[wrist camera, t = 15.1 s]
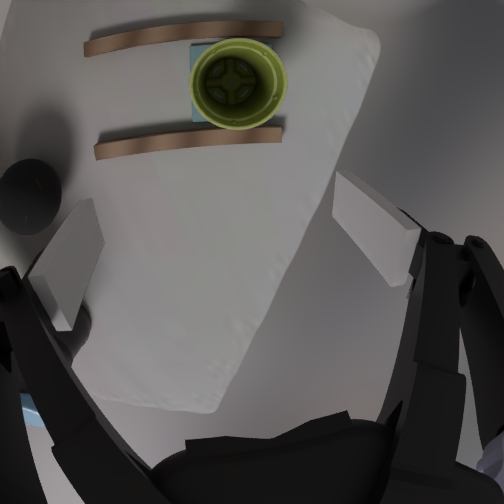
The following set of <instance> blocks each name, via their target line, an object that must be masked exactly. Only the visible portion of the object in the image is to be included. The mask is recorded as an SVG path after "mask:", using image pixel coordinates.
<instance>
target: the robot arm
mask: <svg viewBox="0 0 504 504" xmlns="http://www.w3.org/2000/svg"><path fill="white" fill-rule="evenodd" d="M332 216H333V217H334V218H335V220H336V221H337V222H338V223H339V224H340V225H341V226H342V228H343V229H344V230H345V231H346V232H347V233H348V235H349V236H350V237H351V238H352V239H353V240H354V242H355V243H356V244H357V245H358V246H359V248H360V249H361V250H362V251H363V253H364V254H365V255H366V256H367V257H368V259H369V260H370V261H371V262H372V264H373V265H374V266H375V267H376V269H377V270H378V271H379V272H380V274H381V275H382V276H383V277H384V279H385V280H386V281H387V283H388V284H389V285H390V286H391V287H394V286H399V285H403V284H405V282H406V279H407V276H408V273H410V274H411V275H412V276H413V281H412V284H411V287H410V289H409V292H408V295H407V299H409V301H408V307H407V312H406V317H405V322H404V327H403V332H402V337H401V341H400V346H399V349H398V354H397V358H396V362H395V365H394V369H393V373H392V377H391V380H390V384H389V387H388V390H387V394H386V397H385V400H384V403H383V407H382V410H381V412H380V414H379V416H378V418H377V420H376V422H374V421H369V420H363V419H350V417H349V414H348V412H347V410H346V411H343V412H340V413H336V414H333V415H329V416H325V417H322V418H318V419H314V420H310V421H308V422H306V423H304V424H302V425H300V426H298V427H296V428H294V429H292V430H290V431H288V432H286V433H283V434H281V435H279V436H277V437H275V438H271V439H258V438H242V437H230V436H222V437H213V438H203V439H192V440H185V445H186V450H183V451H180V452H177V453H175V454H173V455H171V456H169V457H167V458H165V459H164V460H162V461H161V462H160V463H158V464H157V465H156V466H155V467H154V468H153V469H151V468H150V467H149V466H148V465H147V464H146V463H145V462H144V461H143V460H142V459H141V458H140V457H139V456H138V455H137V454H136V453H135V452H134V451H133V450H132V449H131V447H130V446H129V445H128V444H127V443H126V442H125V440H124V439H123V438H122V437H121V436H120V434H119V433H118V432H117V431H116V430H115V428H114V427H113V426H112V425H111V423H110V422H109V421H108V420H107V418H106V417H105V416H104V414H103V413H102V412H101V410H100V409H99V408H98V406H97V405H96V403H95V402H94V401H93V399H92V398H91V397H90V395H89V394H88V392H87V391H86V389H85V388H84V386H83V385H82V383H81V382H80V380H79V379H78V377H77V376H76V374H75V373H74V371H73V370H72V368H71V366H72V362H73V359H74V357H75V356H76V354H77V353H78V351H79V350H80V348H81V347H82V346H83V345H84V344H85V343H86V341H87V340H88V337H89V334H90V330H91V320H90V317H89V315H88V313H87V311H86V310H85V308H84V307H83V306H82V305H81V302H82V299H83V296H84V294H85V291H86V288H87V285H88V283H89V280H90V278H91V275H92V272H93V270H94V267H95V265H96V262H97V260H98V258H99V255H100V253H101V250H102V248H103V246H104V243H105V242H104V239H103V236H102V232H101V229H100V225H99V222H98V218H97V215H96V211H95V207H94V203H93V199H92V198H90V199H85V200H80V201H79V202H78V203H77V205H76V206H75V207H74V209H73V210H72V211H71V213H70V214H69V215H68V217H67V218H66V219H65V221H64V222H63V224H62V225H61V226H60V228H59V229H58V231H57V232H56V234H55V235H54V236H53V238H52V239H51V241H50V242H49V244H48V245H47V247H46V248H45V249H43V250H42V251H41V252H40V253H39V254H38V255H37V256H36V258H35V259H34V261H33V263H32V264H31V266H30V267H29V269H28V270H27V272H26V274H25V275H24V277H23V279H22V280H21V278H20V276H19V274H18V272H17V270H16V268H15V267H14V266H8V267H5V268H3V269H1V270H0V504H48V503H47V500H46V497H45V494H44V492H43V489H42V486H41V483H40V480H39V477H38V473H37V470H36V467H35V463H34V460H33V456H32V453H31V448H30V444H29V440H28V435H27V431H26V427H25V424H29V425H33V426H37V427H46V429H47V430H48V432H49V434H50V436H51V438H52V440H53V442H54V446H52V447H51V449H52V453H53V455H54V457H55V459H56V461H57V462H58V464H59V466H60V467H61V469H62V471H63V472H64V474H65V475H66V477H67V478H68V480H69V481H70V483H71V484H72V485H73V487H74V489H75V490H76V492H77V493H78V495H79V496H80V497H81V499H82V500H83V501H84V503H85V504H504V270H503V268H502V266H501V264H500V262H499V261H498V259H497V257H496V256H495V254H494V252H493V251H492V249H491V247H490V246H489V245H488V244H487V242H486V241H484V240H483V239H482V238H480V237H478V236H471V235H469V236H467V237H466V239H465V242H464V245H457V244H454V242H453V240H452V239H451V238H450V237H449V236H447V235H445V234H443V233H440V232H436V231H435V232H428V231H427V230H426V229H425V228H424V227H423V226H421V225H420V224H419V223H418V222H417V221H415V220H414V219H413V218H412V217H410V215H408V214H407V213H406V212H405V211H403V210H401V209H399V208H397V207H395V206H394V205H393V204H392V203H390V202H389V201H388V200H387V199H385V198H384V197H383V196H381V195H380V194H379V193H378V192H376V191H375V190H374V189H372V188H371V187H370V186H368V185H367V184H366V183H364V182H363V181H362V180H360V179H359V178H357V177H356V176H355V175H354V174H352V173H351V172H349V171H336V181H335V194H334V203H333V213H332ZM459 329H460V330H461V334H462V338H463V342H464V346H465V350H466V355H467V359H468V364H469V369H470V375H471V380H472V386H473V392H474V398H475V406H476V414H477V423H478V430H479V436H480V440H481V445H482V449H483V455H482V458H481V459H480V460H479V461H478V463H477V467H476V470H474V469H472V468H470V467H468V466H465V465H463V464H461V463H459V462H457V461H455V460H456V455H457V450H458V445H459V439H460V434H461V427H462V421H463V413H464V404H465V394H466V377H465V375H464V374H460V373H458V361H459V333H460V331H459Z"/></svg>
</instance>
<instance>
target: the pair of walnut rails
mask: <svg viewBox="0 0 504 504" xmlns="http://www.w3.org/2000/svg"><path fill="white" fill-rule="evenodd" d="M217 37H271V38H281V37H283V22H272V21H209V22H194V23H183V24H174V25H165V26H158V27H151V28H145V29H140V30H134V31H129V32H124V33H119V34H115V35H110V36H106V37H102V38H98V39H94V40H91V41H87V42H84V57H91V56H95V55H99V54H103V53H107V52H111V51H116V50H121V49H126V48H131V47H136V46H142V45H148V44H154V43H161V42H169V41H178V40H187V39H200V38H217ZM280 142H282V127H281V126H279V125H274V126H256V127H253V128H249V129H243V130H233V129H226V128H222V127H219V128H205V129H193V130H183V131H174V132H165V133H157V134H149V135H142V136H136V137H129V138H123V139H117V140H111V141H106V142H101V143H97V144H95V145H94V152H95V157H96V160H101V159H107V158H113V157H119V156H125V155H132V154H139V153H146V152H154V151H162V150H170V149H179V148H189V147H200V146H213V145H228V144H247V143H280Z"/></svg>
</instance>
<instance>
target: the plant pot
mask: <svg viewBox="0 0 504 504" xmlns="http://www.w3.org/2000/svg"><path fill="white" fill-rule="evenodd" d="M239 64H242V65H243V66H245V67H246V68H247V70H248V71H247V72H246V71H245V70H244V69H243V68H242V67H240V66H239ZM217 66H221V68H219V69H218V70H217V71H216V72H215V73H214V74H213V71H214V69H215V68H216V67H217ZM230 79H232V80H233V83H230V82H229V80H230ZM287 81H288V79H287V73H286V69H285V67H284V64H283V62H282V61H281V59H280V58H279V56H278V55H277V54H276V53H275V52H274V51H273V50H272V49H270V48H269V47H268V46H266V45H265V44H263V43H261V42H258V41H255V40H252V39H246V38H232V39H226V40H223V41H220V42H218V43H216V44H214V45H212V46H211V47H209V48H208V49H206V50H205V51H204V52H203V53H202V54H201V55H200V56H199V58H198V59H197V60H196V62H195V64H194V66H193V68H192V71H191V75H190V80H189V90H190V95H191V99H192V101H193V104H194V105H195V107H196V109H197V110H198V111H199V113H200V114H201V115H202V116H203V117H204V118H205V119H207V120H208V121H210V122H211V123H213V124H215V125H217V126H219V127H222V128H226V129H233V130H243V129H249V128H253V127H256V126H258V125H260V124H262V123H264V122H266V121H267V120H268V119H270V118H271V117H272V116H273V115H274V114H275V113H276V112H277V111H278V109H279V108H280V106H281V105H282V103H283V101H284V98H285V95H286V92H287V83H288V82H287ZM246 89H249V91H248V93H247V94H246V95H245V96H243V97H241V95H242V94H243V93H244V92H245V91H246ZM214 91H216V92H217V93H218V94H219V95H220V96H222V97H223V98H222V99H220V98H219V97H218V96H216V95H215V94H214Z"/></svg>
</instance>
